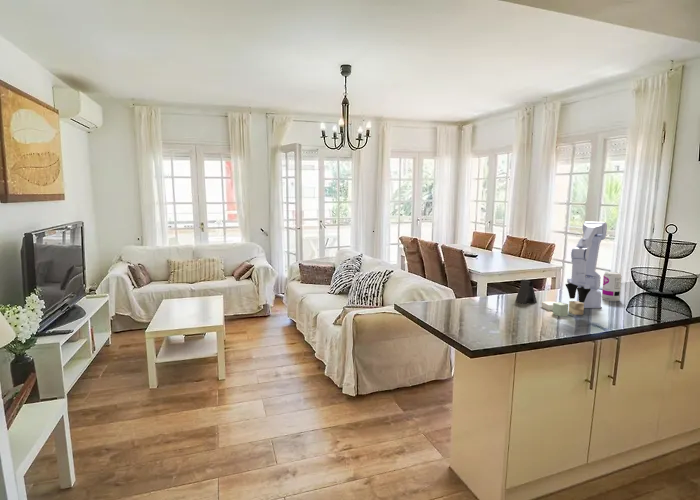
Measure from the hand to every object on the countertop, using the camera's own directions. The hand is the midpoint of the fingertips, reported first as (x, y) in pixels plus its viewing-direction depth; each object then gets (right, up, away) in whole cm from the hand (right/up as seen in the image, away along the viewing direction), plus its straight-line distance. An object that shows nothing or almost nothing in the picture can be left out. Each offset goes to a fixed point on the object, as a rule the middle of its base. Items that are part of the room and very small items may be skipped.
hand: (576, 300), depth 189 cm
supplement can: (+34, -3, +27) cm, 44 cm away
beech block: (0, -7, +1) cm, 7 cm away
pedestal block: (-7, -6, +10) cm, 13 cm away
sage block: (-9, -7, -1) cm, 11 cm away
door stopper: (-15, -4, +22) cm, 27 cm away
